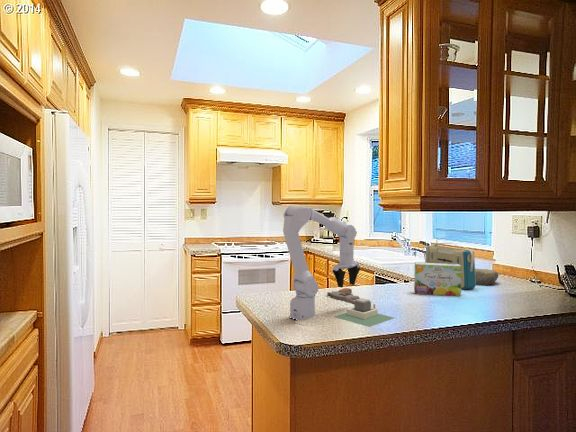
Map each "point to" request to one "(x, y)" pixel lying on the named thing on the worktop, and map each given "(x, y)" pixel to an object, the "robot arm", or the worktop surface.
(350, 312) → the socket
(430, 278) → the snack box
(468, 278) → the radio
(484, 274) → the stone
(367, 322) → the board
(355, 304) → the plug
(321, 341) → the worktop surface
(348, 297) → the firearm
